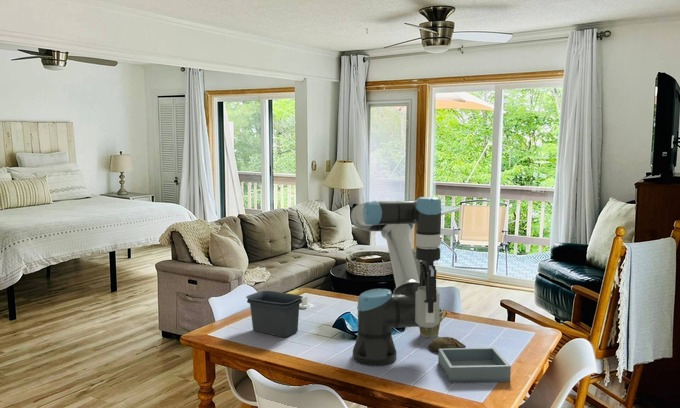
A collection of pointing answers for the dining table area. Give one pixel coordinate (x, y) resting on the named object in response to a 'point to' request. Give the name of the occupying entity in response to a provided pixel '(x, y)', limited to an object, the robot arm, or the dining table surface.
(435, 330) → the ceramic cup
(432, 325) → the can
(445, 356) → the tote
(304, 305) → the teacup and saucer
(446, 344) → the bread roll
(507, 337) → the dining table surface
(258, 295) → the storage bin
